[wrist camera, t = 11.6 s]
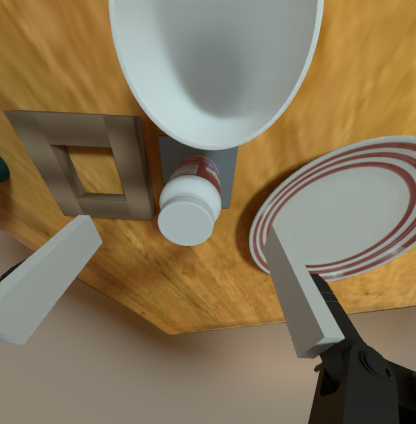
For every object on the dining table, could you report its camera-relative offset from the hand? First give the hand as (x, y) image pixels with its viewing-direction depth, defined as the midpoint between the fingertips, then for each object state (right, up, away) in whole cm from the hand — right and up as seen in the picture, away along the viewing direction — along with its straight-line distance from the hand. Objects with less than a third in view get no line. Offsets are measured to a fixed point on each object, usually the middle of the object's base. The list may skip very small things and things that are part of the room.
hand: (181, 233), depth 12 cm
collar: (-13, +8, +11) cm, 19 cm away
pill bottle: (+1, +7, +11) cm, 13 cm away
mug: (+2, +17, +4) cm, 17 cm away
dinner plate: (+22, 0, +15) cm, 27 cm away
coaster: (+1, +7, +11) cm, 13 cm away
